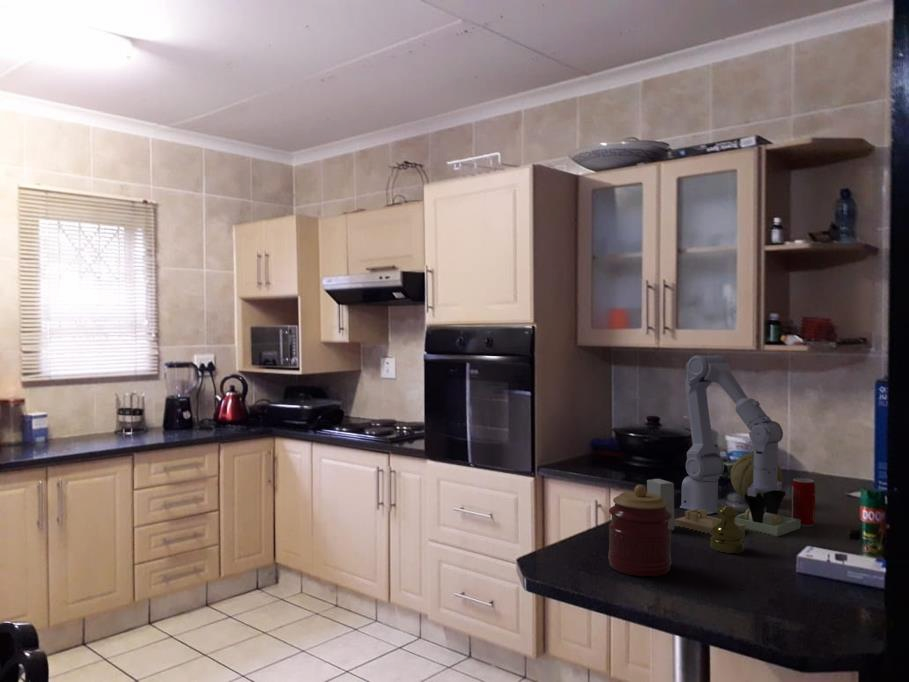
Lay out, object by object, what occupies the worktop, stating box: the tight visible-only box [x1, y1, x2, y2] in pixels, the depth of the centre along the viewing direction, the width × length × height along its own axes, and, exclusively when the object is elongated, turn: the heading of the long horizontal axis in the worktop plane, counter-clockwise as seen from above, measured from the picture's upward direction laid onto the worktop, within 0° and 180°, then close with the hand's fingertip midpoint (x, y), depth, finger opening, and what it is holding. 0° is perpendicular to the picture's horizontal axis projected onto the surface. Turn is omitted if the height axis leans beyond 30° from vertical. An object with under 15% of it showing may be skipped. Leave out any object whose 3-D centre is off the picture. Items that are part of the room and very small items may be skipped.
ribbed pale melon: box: [730, 452, 784, 500], centre depth 208 cm, size 15×15×15 cm
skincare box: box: [646, 478, 675, 531], centre depth 178 cm, size 6×4×12 cm
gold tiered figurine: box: [709, 505, 745, 554], centre depth 161 cm, size 7×7×10 cm
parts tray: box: [735, 512, 801, 537], centre depth 181 cm, size 13×13×2 cm
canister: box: [607, 484, 673, 577], centre depth 148 cm, size 13×13×18 cm
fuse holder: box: [674, 508, 746, 535], centre depth 179 cm, size 14×10×4 cm
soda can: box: [791, 477, 816, 527], centre depth 184 cm, size 6×6×12 cm
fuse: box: [744, 508, 783, 526], centre depth 180 cm, size 8×4×4 cm, turn 39°
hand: (764, 520), depth 181 cm, fingers open, 7 cm apart
